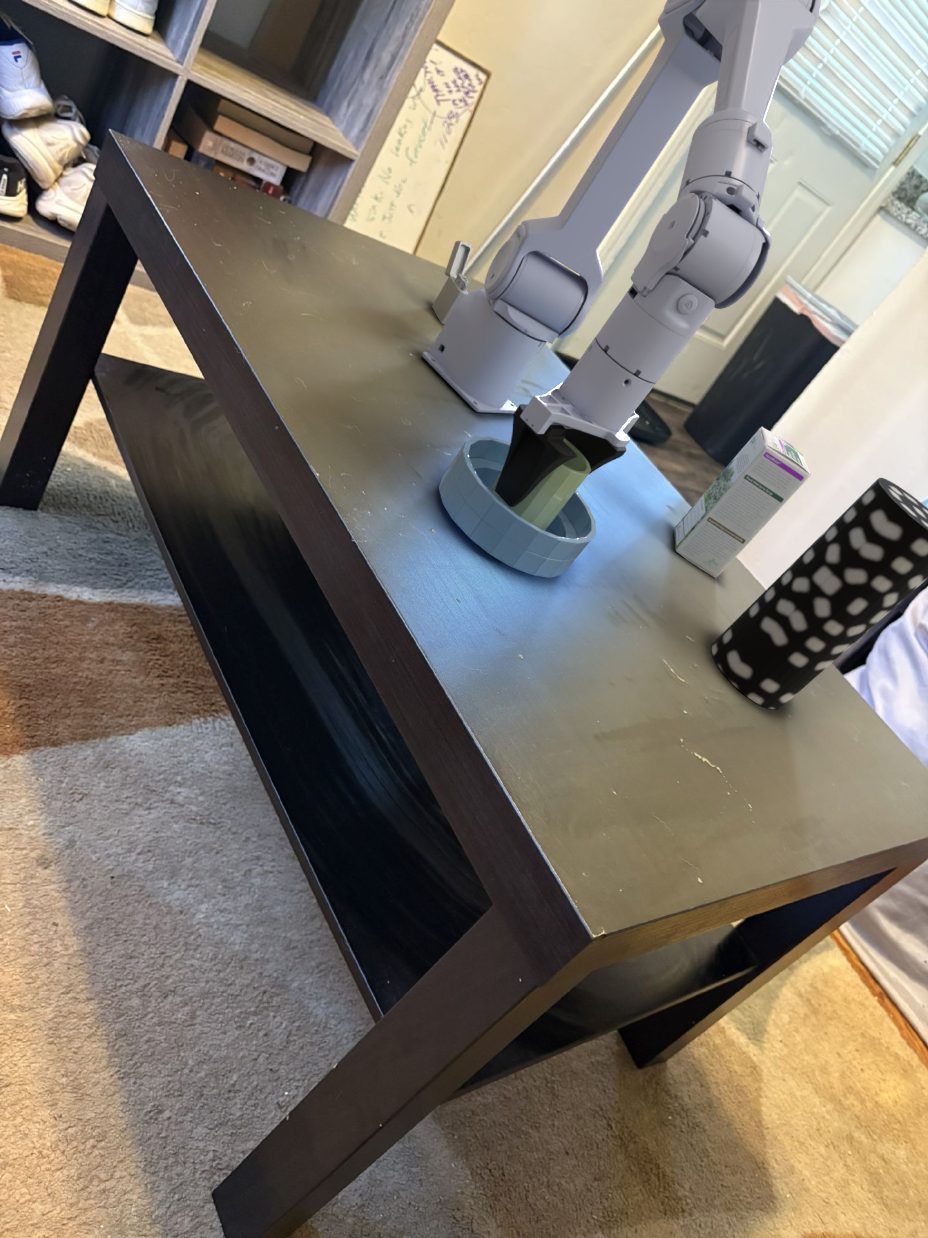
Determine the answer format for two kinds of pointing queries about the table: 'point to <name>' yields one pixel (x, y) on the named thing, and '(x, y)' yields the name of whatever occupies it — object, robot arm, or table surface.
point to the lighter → (453, 282)
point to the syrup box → (740, 502)
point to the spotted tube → (828, 596)
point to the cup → (550, 491)
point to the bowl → (510, 514)
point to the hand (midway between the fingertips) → (525, 496)
